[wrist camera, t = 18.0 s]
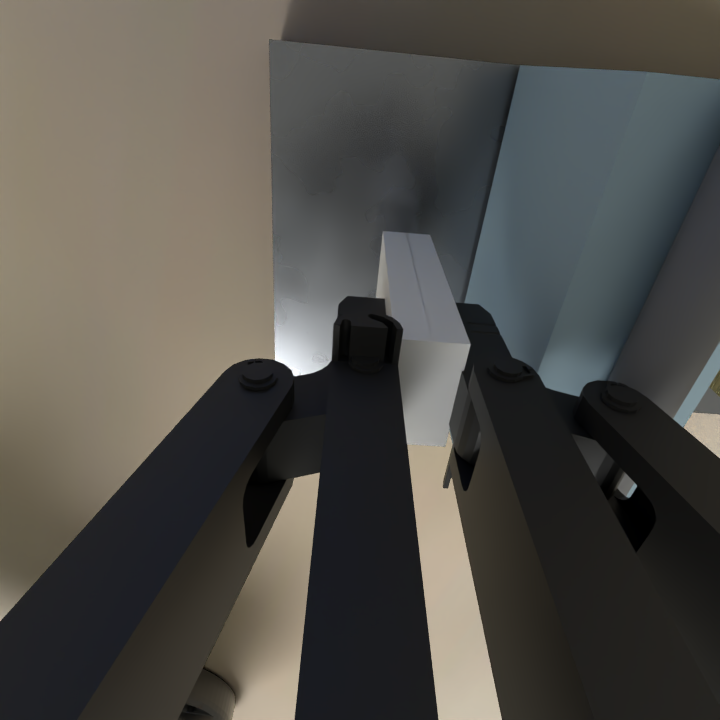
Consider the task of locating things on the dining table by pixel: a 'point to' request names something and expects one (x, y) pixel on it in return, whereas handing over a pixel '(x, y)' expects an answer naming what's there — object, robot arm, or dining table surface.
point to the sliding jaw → (608, 233)
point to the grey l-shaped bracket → (375, 176)
